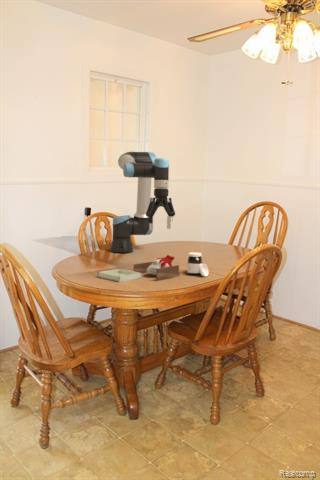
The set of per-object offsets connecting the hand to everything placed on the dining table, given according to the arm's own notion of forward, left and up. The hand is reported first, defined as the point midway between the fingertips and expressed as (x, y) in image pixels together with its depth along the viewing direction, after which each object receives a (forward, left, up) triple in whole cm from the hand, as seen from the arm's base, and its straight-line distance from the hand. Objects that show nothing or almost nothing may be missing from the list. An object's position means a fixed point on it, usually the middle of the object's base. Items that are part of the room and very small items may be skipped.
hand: (160, 229), depth 219 cm
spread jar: (+13, +15, -25) cm, 32 cm away
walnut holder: (0, -5, -25) cm, 25 cm away
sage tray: (-10, -20, -25) cm, 33 cm away
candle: (0, -5, -25) cm, 26 cm away
